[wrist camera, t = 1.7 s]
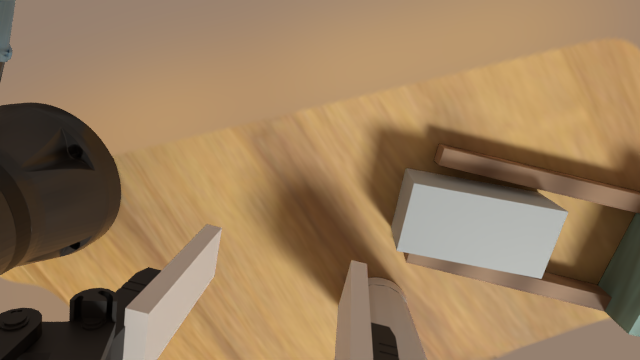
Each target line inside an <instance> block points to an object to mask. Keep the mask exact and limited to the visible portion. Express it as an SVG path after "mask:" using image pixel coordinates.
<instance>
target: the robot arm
mask: <svg viewBox="0 0 640 360" xmlns="http://www.w3.org/2000/svg"><path fill="white" fill-rule="evenodd" d="M14 7H15V0H0V81H1V77H2V72H3V67H4V64H5V62H7V61H8V60H9V59H11V56H12V48H11V46H10V44H9V42H10V35H11V27H12V21H13V14H14ZM120 200H121V186H120V179H119V175H118V171H117V168H116V165H115V163H114V160H113V158H112V156H111V154H110V153H109V151H108V149H107V148H106V146H105V145H104V143H103V142H102V141H101V139H100V138H99V137H98V136H97V134H96V133H95V132H94V131H93V130H92V129H91V128H89V127H88V126H87V125H86V124H85V123H84V122H82V121H81V120H80V119H78V118H77V117H75V116H73V115H72V114H70V113H68V112H66V111H64V110H62V109H60V108H57V107H54V106H51V105H47V104H41V103H21V104H9V105H2V106H0V275H1V274H3V273H5V272H7V271H8V270H10V269H12V268H14V267H17V266H22V265H26V264H30V263H35V262H39V261H44V260H48V259H52V258H57V257H61V256H65V255H69V254H72V253H74V252H77V251H79V250H81V249H83V248H85V247H86V246H88V245H89V244H91V243H92V242H94V241H95V240H97V239H99V238H100V237H101V236H103V235H104V234H105V233H106V232H107V231H108V230H109V228H110V227H111V226H112V224H113V222H114V221H115V218H116V216H117V214H118V211H119V207H120ZM221 230H222V228H220V227H216V226H212V225H208V224H207V225H206V226H205V227H204V228H203V229H202V230H201V231H200V232H199V233H198V234H197V235H196V236H195V237H194V238H193V239H192V240H191V241H190V242H189V243H188V244H187V245H186V246H185V247H184V248H183V249H182V250H181V251H180V252H179V253H178V254H177V255H176V256H175V257H174V259H173V260H172V261H171V262H170V263H169V264H168V265H167V266H166V267H165V268H164V269H163V270H162V271H161V270H157V269H153V268H149V267H148V268H146V269H144V270H142V271H139V272H137V273H136V274H135V275H134V276H133V277H131V278H130V279H129V280H128V282H126V283H125V284H124V285H123V286H122V287H121V288H120V289H118V290H117V291H116V292H113V291H111V290H109V289H104V288H93V289H88V290H84V291H82V292H80V293H78V294H76V295H74V296H73V297H72V299H71V300H70V321H68V322H42V315H41V313H40V312H39V311H37V310H35V309H32V308H18V309H12V310H9V311H6V312H3V313H1V314H0V360H157V359H158V357H159V356H160V354H161V353H162V351H163V350H164V348H165V347H166V346H167V344H168V343H169V341H170V340H171V338H172V337H173V335H174V334H175V332H176V331H177V329H178V328H179V327H180V325H181V324H182V322H183V321H184V319H185V318H186V316H187V315H188V313H189V312H190V311H191V309H192V308H193V306H194V305H195V303H196V302H197V300H198V299H199V297H200V296H201V295H202V293H203V292H204V290H205V289H206V287H207V286H208V284H209V283H210V281H211V280H212V279H213V277H214V275H215V268H216V262H217V256H218V249H219V243H220V237H221ZM398 356H399V354H398V349H397V342H396V337H395V335H394V333H393V332H392V330H391V329H390V327H388V326H384V325H380V324H376V323H372V322H371V318H370V304H369V289H368V274H367V264H366V263H362V262H358V261H353V260H351V263H350V267H349V270H348V274H347V278H346V281H345V285H344V288H343V292H342V295H341V299H340V302H339V306H338V317H337V332H336V347H335V360H399V357H398Z"/></svg>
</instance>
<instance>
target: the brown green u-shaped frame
mask: <svg viewBox="0 0 640 360" xmlns="http://www.w3.org/2000/svg"><path fill="white" fill-rule="evenodd" d="M434 160H435V162H436V163H437V164H438V165H440V166H444V167H448V168H453V169H457V170H461V171H465V172H469V173H473V174H478V175H482V176H486V177H490V178H494V179H498V180H502V181H507V182H511V183H515V184H519V185H523V186H527V187H531V188H536V189H540V190H544V191H548V192H552V193H556V194H561V195H565V196H569V197H573V198H577V199H581V200H585V201H590V202H594V203H598V204H602V205H606V206H610V207H615V208H619V209H623V210H627V211H631V212H635V213H636V214H635V216H634V218H633V220H632V221H631V223H630V225H629V227H628V229H627V231H626V233H625V235H624V237H623V238H622V240H621V242H620V244H619V246H618V248H617V250H616V252H615V254H614V255H613V257H612V259H611V261H610V263H609V265H608V267H607V269H606V271H605V272H604V274H603V276H602V278H601V280H600V282H599V284H598V285H595V284H591V283H587V282H583V281H579V280H575V279H571V278H567V277H563V276H559V275H555V274H551V273H546V272H544V274H543V276H542V279H540V278H534V277H529V276H524V275H519V274H514V273H509V272H503V271H498V270H493V269H488V268H483V267H478V266H472V265H467V264H462V263H457V262H452V261H447V260H441V259H436V258H431V257H426V256H421V255H416V254H410V253H405V252H403V253H404V256H405V260H406V262H407V263H411V264H415V265H419V266H423V267H427V268H431V269H435V270H439V271H443V272H447V273H452V274H456V275H460V276H464V277H468V278H472V279H476V280H480V281H484V282H488V283H492V284H496V285H500V286H504V287H508V288H512V289H516V290H520V291H524V292H528V293H532V294H537V295H541V296H545V297H549V298H553V299H557V300H561V301H565V302H569V303H573V304H577V305H581V306H585V307H589V308H593V309H597V310H601V311H605V312H606V313H607V314H608V315H609V316H610V317H611V318H612V319H613V320H614V321H615V322H616V323H617V324H618V325H619V326H621V327H622V328H623V329H624V330H625V331H626V332H627V333H628V334H631V335H634V336H639V337H640V192H639V191H635V190H630V189H626V188H622V187H618V186H614V185H609V184H605V183H601V182H597V181H593V180H589V179H584V178H580V177H576V176H572V175H568V174H564V173H559V172H555V171H551V170H547V169H543V168H539V167H534V166H530V165H526V164H522V163H518V162H513V161H509V160H505V159H501V158H497V157H493V156H488V155H484V154H480V153H476V152H472V151H468V150H463V149H459V148H455V147H451V146H447V145H443V144H439V146H438V149H437V152H436V155H435V158H434Z"/></svg>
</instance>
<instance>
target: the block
mask: <svg viewBox="0 0 640 360" xmlns="http://www.w3.org/2000/svg"><path fill="white" fill-rule="evenodd" d="M567 214H568V211H566V210H565V209H563V208H561V207H560V206H558V205H557V204H555V203H554V202H552V201H551V200H549V199H548V198H546V197H545V196H543V195H542V194H540V193H539V192H534V191H528V190H523V189H517V188H512V187H506V186H501V185H496V184H490V183H485V182H479V181H474V180H469V179H463V178H458V177H452V176H447V175H441V174H436V173H431V172H425V171H420V170H414V169H409V168H406V169H405V173H404V177H403V181H402V186H401V190H400V194H399V198H398V202H397V206H396V210H395V214H394V218H393V222H392V226H391V229H392V233H393V237H394V242H395V246H396V250H397V251H400V252H405V253H410V254H416V255H421V256H426V257H431V258H436V259H441V260H447V261H452V262H457V263H462V264H467V265H472V266H478V267H483V268H488V269H493V270H498V271H503V272H509V273H514V274H519V275H524V276H529V277H534V278H540V279H542V276H543V274H544V271H545V269H546V266H547V264H548V261H549V259H550V256H551V254H552V251H553V249H554V246H555V244H556V241H557V239H558V236H559V234H560V232H561V229H562V227H563V224H564V222H565V219H566V217H567Z"/></svg>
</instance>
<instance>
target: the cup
mask: <svg viewBox="0 0 640 360" xmlns="http://www.w3.org/2000/svg"><path fill="white" fill-rule="evenodd" d="M368 289H369V304H370V318H371V322H372V323H376V324H380V325H384V326H388V327H390V329H391V330H392V332H393V333H394V335H395V337H396V342H397V349H398V354H399V356H398V357H399V360H427V358H426V355H425V352H424V350H423V347H422V344H421V341H420V338H419V336H418V333H417V330H416V327H415V325H414V322H413V319H412V316H411V313H410V311H409V308H408V305H407V300H406V297H405V294H404V292H403V291H402V290H401V288H400V287H399V286H398V285H396V284H395V283H393V282H392V281H390V280H387V279H384V278H376V277H374V278H368Z"/></svg>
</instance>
